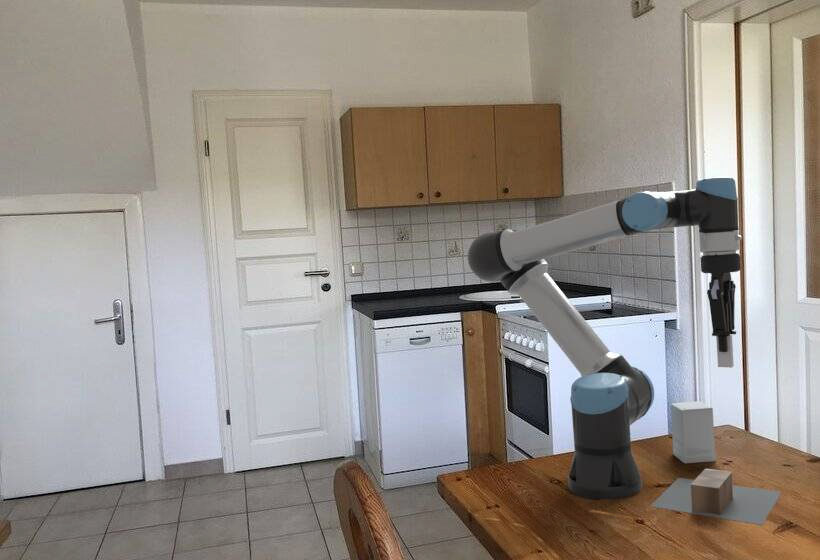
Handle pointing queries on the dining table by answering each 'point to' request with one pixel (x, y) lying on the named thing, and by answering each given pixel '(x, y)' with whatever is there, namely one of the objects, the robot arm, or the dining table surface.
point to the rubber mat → (742, 507)
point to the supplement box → (693, 432)
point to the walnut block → (712, 491)
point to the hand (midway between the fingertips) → (725, 366)
